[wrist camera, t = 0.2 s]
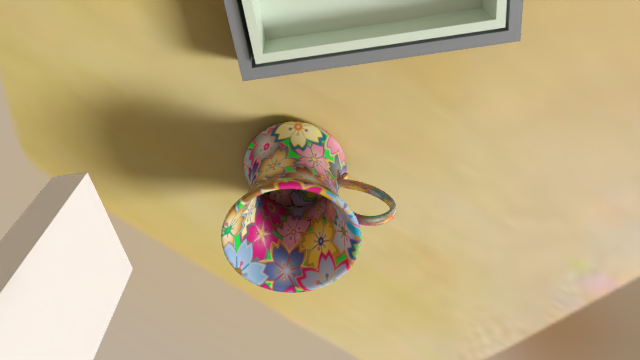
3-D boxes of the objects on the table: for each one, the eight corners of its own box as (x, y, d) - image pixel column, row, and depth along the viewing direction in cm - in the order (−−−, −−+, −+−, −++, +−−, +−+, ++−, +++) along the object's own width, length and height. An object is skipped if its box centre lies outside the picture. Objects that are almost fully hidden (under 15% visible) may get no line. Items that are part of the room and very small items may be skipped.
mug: (251, 212, 45) (236, 299, 36) (229, 118, 40) (206, 192, 31) (384, 198, 44) (404, 283, 35) (379, 101, 39) (400, 172, 30)
